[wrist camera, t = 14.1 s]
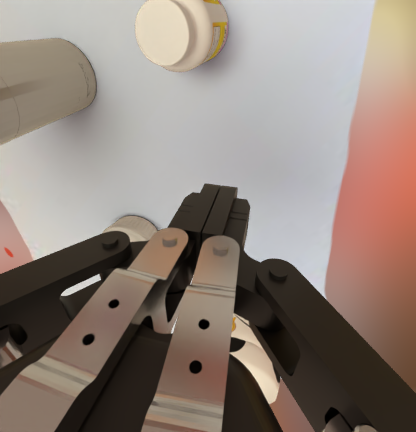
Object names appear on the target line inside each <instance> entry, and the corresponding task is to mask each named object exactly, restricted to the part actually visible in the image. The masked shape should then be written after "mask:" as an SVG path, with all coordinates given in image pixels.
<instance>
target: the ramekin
mask: <svg viewBox="0 0 416 432" xmlns="http://www.w3.org/2000/svg"><path fill="white" fill-rule="evenodd" d="M109 231H122V232H124V233H126V234H127V235H128V236H129V238H130V242H136V241H148V240H150V239H151V237H152V236H153V235H154V234H155V233H156V232H157V229H156V228H155V227H154V226H153V225H152V224H151V223H150V222H149V221H147V220H145V219H143V218H141V217H137V216H125V217H122V218H120V219H119V220H118V221H116V222H115V223H114V224H113V225H111V226H109V227H108V228H106V229H105V230H104V231H103V233H105V232H109Z"/></svg>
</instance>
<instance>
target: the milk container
mask: <svg viewBox="0 0 416 432" xmlns="http://www.w3.org/2000/svg"><path fill="white" fill-rule="evenodd" d="M229 353H230V354H232V355H233V356H234V357H236V358H237V359H238V360H240V361H241V362H242V363H243V364H244V365H245V366H246V367H247V368H248V370H249V371H250V372H251V373H252V375H253V376H254V378H255V379H256V381H257V382H258V384H259V386H260V388H261V390H262V392H263V394H264V396H265V398H266V400H267V401H268V403H269V404H271V403H272V402H274V401H275V400H276V397H277V394H278V390H279V383H280V375H279V373H278V372H277V370H276V368H275V367H274V365H273V364H272V362H271V360H270V359H269V357H268V356H267V354H266V352H265V351H264V349H263V348H262V346H261V345H260V343H259V341H258V340H257V338H256V337H255V335H254V333H253V332H252V330H251V328H250V326H249V321H247V320H245V319H244V318H242V317H240V316H238V315H237V314H235V313H233V322H232V331H231V341H230V351H229Z"/></svg>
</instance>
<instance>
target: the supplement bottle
mask: <svg viewBox="0 0 416 432" xmlns="http://www.w3.org/2000/svg"><path fill="white" fill-rule="evenodd" d="M135 33H136V39H137V42H138V45H139V47H140V49H141V51H142V52H143V54H144V55H145V56H146V57H147V58H148V59H149V60H150V61H151V62H153V63H155V64H157V65H160V66H162V67H163V68H165V69H167V70H169V71H173V72H186V71H189V70H191V69H194V68H195V67H197V66H199V65H201V64H203V63H205V62H206V61H208V60H210V59H212V58H213V57H215V56H216V55H217V54H218V53H219V52H220V51H221V49H222V48H223V46H224V44H225V42H226V39H227V35H228V18H227V14H226V11H225V9H224V7H223V5H222V4H221V2H220V1H219V0H148V1H147V2H145V3H144V4H143V5H142V7H141V8H140V10H139V12H138V14H137V17H136V22H135Z"/></svg>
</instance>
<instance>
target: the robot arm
mask: <svg viewBox="0 0 416 432" xmlns="http://www.w3.org/2000/svg"><path fill="white" fill-rule="evenodd" d="M95 93H96V81H95V76H94V73H93V70H92V67H91V65H90V63H89V62H88V60H87V58H86V57H85V55H84V54H83V53H82V52H81V51H80V50H79V49H78V48H77V47H76V46H74V45H73V44H72V43H70V42H68V41H66V40H63V39H59V38H51V39H40V40H26V41H14V42H2V43H0V145H2V144H4V143H7V142H9V141H11V140H13V139H15V138H18V137H20V136H22V135H24V134H27V133H29V132H31V131H34V130H36V129H38V128H41V127H43V126H45V125H47V124H50V123H52V122H54V121H57V120H59V119H61V118H63V117H66V116H68V115H71V114H73V113H75V112H77V111H80V110H82V109H84V108H86V107H88V106H89V105H90V104H91V103H92V101H93V99H94V97H95ZM249 212H250V205H249V203H248V201H247V200H245V199H238V198H237V187H229V186H221V185H213V184H204V186H203V188H202V190H201V192H200V193H191V194H190V195H188V196H187V197H185V199H184V200H183V202H182V204H181V206H180V207H179V209H178V211H177V212H176V214H175V216H174V217H173V219H172V221H171V223H170V224H169V226H168V228H165V229H161V230H159V231H157V232H156V233H155V234H154V235H153V236H152V237H151V239H150V240H148V241H136V242H130V238H129V236H128V235H127V234H126V233H124V232H122V231H109V232H105V233H102V234H100V235H97V236H95V237H92V238H90V239H87V240H85V241H82V242H80V243H77V244H75V245H72V246H70V247H67V248H65V249H62V250H60V251H57V252H55V253H52V254H50V255H47V256H45V257H42V258H40V259H37V260H35V261H32V262H30V263H27V264H25V265H22V266H19V267H17V268H14V269H12V270H9V271H7V272H5V273H2V274H0V432H283V431H282V429H281V427H280V425H279V423H278V421H277V419H276V417H275V415H274V413H273V411H272V409H271V407H270V406H269V403H268V401H267V400H266V398H265V396H264V394H263V392H262V390H261V388H260V386H259V384H258V382H257V381H256V379H255V378H254V376H253V375H252V373H251V372H250V371H249V370H248V368H247V367H246V366H245V365H244V364H243V363H242V362H241V361H240V360H238V359H237V358H236V357H234V356H233V355H232V354H230V353H229V351H230V341H231V331H232V322H233V313H235V314H237V315H238V316H240V317H242V318H244V319H245V320H247V321H249V326H250V328H251V330H252V332H253V333H254V335H255V337H256V338H257V340H258V341H259V343H260V345H261V346H262V348H263V349H264V351H265V352H266V354H267V356H268V357H269V359H270V360H271V362H272V364H273V365H274V367H275V368H276V370H277V372H278V373H279V375H280V376H281V378H282V380H283V381H284V383H285V384H286V386H287V388H288V389H289V391H290V392H291V394H292V395H293V397H294V399H295V400H296V402H297V403H298V405H299V407H300V408H301V410H302V411H303V413H304V415H305V416H306V418H307V419H308V421H309V423H310V424H311V426H312V427H313V429H314V431H315V432H416V393H415V392H414V391H413V390H412V389H411V388H410V387H409V386H408V385H407V384H406V383H405V382H404V381H403V380H402V379H401V377H400V376H399V375H398V374H397V373H396V372H395V371H394V370H393V369H392V368H391V367H390V366H389V365H388V364H387V363H386V362H385V361H384V360H383V359H382V358H381V357H380V355H379V354H378V353H377V352H376V351H375V350H374V349H373V348H372V347H371V346H370V345H369V344H368V343H367V342H366V341H365V340H364V339H363V338H362V337H361V336H360V335H359V334H358V333H357V331H356V330H355V329H354V328H353V327H352V326H351V325H350V324H349V323H348V322H347V321H346V320H345V319H344V318H343V317H342V316H341V315H340V314H339V313H338V312H337V311H336V310H335V308H334V307H333V306H332V305H331V304H330V303H329V302H328V301H327V300H326V299H325V298H324V297H323V296H322V295H321V294H320V293H319V292H318V291H317V290H316V289H315V288H314V287H313V285H312V284H311V283H310V282H309V281H308V280H307V279H306V278H305V277H304V276H303V275H302V274H301V273H300V272H299V271H298V270H297V269H296V268H295V267H294V266H293V265H292V264H290V263H289V262H287V261H284V260H281V259H267V260H264V261H262V262H261V263H260V262H258V261H256V260H254V259H252V258H250V257H249V256H248V255H247V254H246V253H245V251H244V245H245V240H246V235H247V229H248V221H249ZM97 274H100V277H101V280H100V281H98V282H96V283H94V284H91V285H89V286H87V287H85V288H83V289H81V290H79V291H77V292H75V293H73V294H71V295H68V296H61V294H62V292H63V291H65V290H66V289H68V288H70V287H72V286H74V285H76V284H78V283H80V282H83V281H85V280H87V279H89V278H91V277H93V276H95V275H97ZM193 275H194V276H193ZM192 278H193V280H192ZM191 280H192V283H191ZM190 283H191V285H190ZM177 317H178V318H177ZM176 319H177V321H176ZM175 321H176V325H175V328H174V332H173V334H171V330H172V328H173V325H174V323H175Z"/></svg>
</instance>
